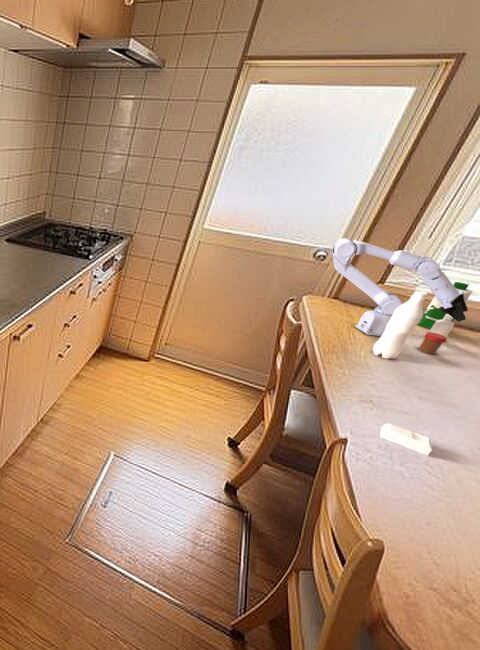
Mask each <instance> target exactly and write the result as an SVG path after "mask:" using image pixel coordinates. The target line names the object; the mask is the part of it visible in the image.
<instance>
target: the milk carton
mask: <svg viewBox="0 0 480 650" xmlns="http://www.w3.org/2000/svg"><path fill="white" fill-rule="evenodd" d="M453 286H454V287H455V288H456V290H457V291H462V290H463V291H464V301H465V303H467V301H468V300H469V298H470V296H471V295H472V294H473V290H469V289H468V287H469V284H468V283H465V282H460V281H455V282H454V283H453ZM440 307H442V304H441V303H440V302H438V301H437V298H436V297H435V296H433V298H432V299H431V302H430V303H429V305H428V306H427V308H426V309H425V311H424V312H423V316H422V319H420V321H419V322H418V324H417V326H421V327H423V328H426V329H429V330H431V328H432V326H433V325H434V324H435V322H436V321H437V320H442V319H443V318H444V316H445V315H446V314H447V313H445V312H442V311H440V309H439V308H440ZM454 321H455V319H454V318H453V319H452V321H451V322H453V323H454Z"/></svg>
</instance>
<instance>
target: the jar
mask: <svg viewBox="0 0 480 650" xmlns="http://www.w3.org/2000/svg"><path fill="white" fill-rule="evenodd" d="M442 345H443V343H440V342H435V341H432V340H429V339H427V338H425V337H424V339H423V340H422V342H421V343H420V345H419V347H418V348H417V350H418V351H420V352H422V353H425V354H428V355H436V354H437V352H438V351H439V350H440V348H441V346H442Z"/></svg>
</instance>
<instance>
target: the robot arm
mask: <svg viewBox="0 0 480 650" xmlns="http://www.w3.org/2000/svg"><path fill="white" fill-rule="evenodd" d="M331 254H332V255H331V256H332V263H333V267H334V270H335V271H336V272H338V273H339V274H340V275H341V276H343V277H344V278H345V279H346V280H348V281H349V282H350V283H351V284H353V285H354V286H356V287H357V289H359V290H360V291H362V292H363V293H364V294H365V295H367V296H368V297H369V298H371V299H372V300H373V301H374V302H375V303H376V304H377V307H375V308H374V309H373V310H367V311H365V312H364V313H363V314H362V315H361V317H360V319H359V320H358V323H357V324H356V325H354V327H355V328H356V329H357V330H360V332H362V333H364V334H366V335H369V336H377V337H381V336H382V334H383V333H384V331H385V328H386V325H387V323H388V322H389V320H390V318H391V317H392V315H393V313H394V311H395V310H396V309H397V308H398V307H399V306H401V305H402V304H404V303H403V302H402V300H401V299H400V297H399V296H398V295H397V294H394V293H390V292H388V291H387V290H385V289H383V287H381V286H380V285H378V284H377V283H376V282H374V281H373V280H371V278H369V277H368V276H367V275H365V274H364V273H363V272H361V271H360V270H359V269H357V268H356V267H355V266H353V265H352V264H351V262H352V258H353V256H354V255H355V256H358V255H363V254H366V255H370V256H373V257H377V258H381V259H384V260H388V262H389V264H390V265H392V266H395V267H399V268H402V269H405V270H408V271H414V272H416V273H417V274H418V275H419V276H420V277H421V278H422V281H423V283H425V285H426V286H427V288H428V289H429V290H430V292H431V293H432V294H433V296H434V297H436V298H437V301H438V302H440V303H441V304H442V307H440V308H439V309H440V311H442V312H445V313H447V314H448V315H450V316H451V317H453V318H454V321H456V322H462V321H466V315H465V312H468V311H469V310H468V306H467V304H466V303H467V302H466V303H465V301H464V291H463V290H462V291H457V290H456V288H455V287H454V286H453V285H454V283H453V282H451V280H450V279H449V278H448V276H447V275H446V274H445V272H444V271H442V269H441V268H440V263H438V262H437V261H436V260H435V259H433V258H431V257H429V256H426V255H423V254H421V255H419V254H415V253H412V252H411V251H410V250H408V249H405V250H397V251H393V250H389V249H386V248H383V247H380V246H377V245H374V244H371V243H368V242H364V241H361V240H357V239H353V240H352V239H350V238H347V237H344V238H340V239H337V240H336V241H335V242H334V243H333V246H332V250H331Z"/></svg>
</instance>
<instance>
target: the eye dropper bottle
mask: <svg viewBox="0 0 480 650" xmlns="http://www.w3.org/2000/svg"><path fill="white" fill-rule="evenodd" d="M452 319H453V317H451V316H450V315H448V314H446V315H445V316H444V318H443V319H442V320H437V321H436V322H435V324H434V325H433V326H432V328H431V329H429V331H428V332H432V333H437V334H440V335H443V336H445V337H447V338H448V335H449V334H450V332H451V331H452V329H453V328H454V326H455V322H454V321H453V322H451V321H452Z"/></svg>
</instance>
